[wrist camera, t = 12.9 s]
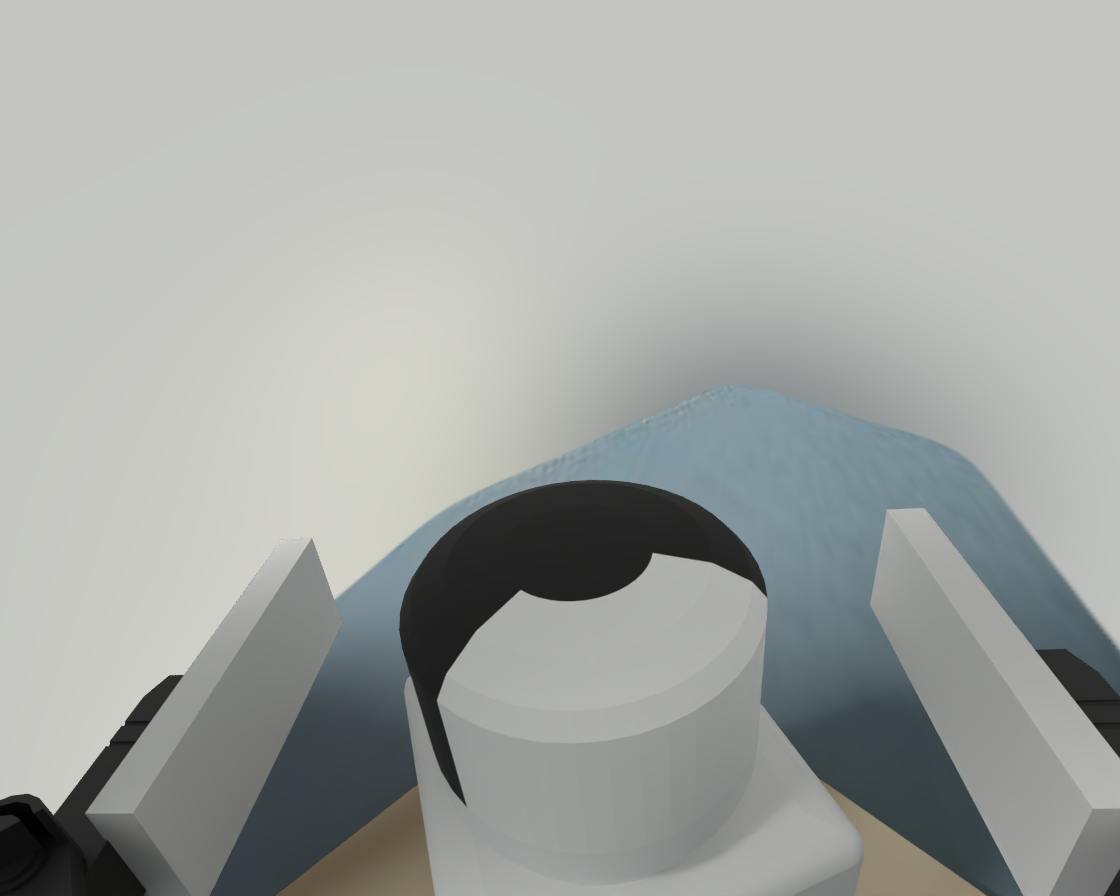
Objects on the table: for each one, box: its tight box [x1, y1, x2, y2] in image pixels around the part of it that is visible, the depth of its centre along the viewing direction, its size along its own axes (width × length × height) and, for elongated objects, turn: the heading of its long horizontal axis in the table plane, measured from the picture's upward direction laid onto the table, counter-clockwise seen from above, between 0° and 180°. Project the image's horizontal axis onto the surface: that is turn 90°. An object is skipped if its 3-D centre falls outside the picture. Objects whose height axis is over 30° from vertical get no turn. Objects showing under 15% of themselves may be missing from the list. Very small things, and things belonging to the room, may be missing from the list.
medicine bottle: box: [399, 480, 864, 896], centre depth 13 cm, size 7×7×12 cm
